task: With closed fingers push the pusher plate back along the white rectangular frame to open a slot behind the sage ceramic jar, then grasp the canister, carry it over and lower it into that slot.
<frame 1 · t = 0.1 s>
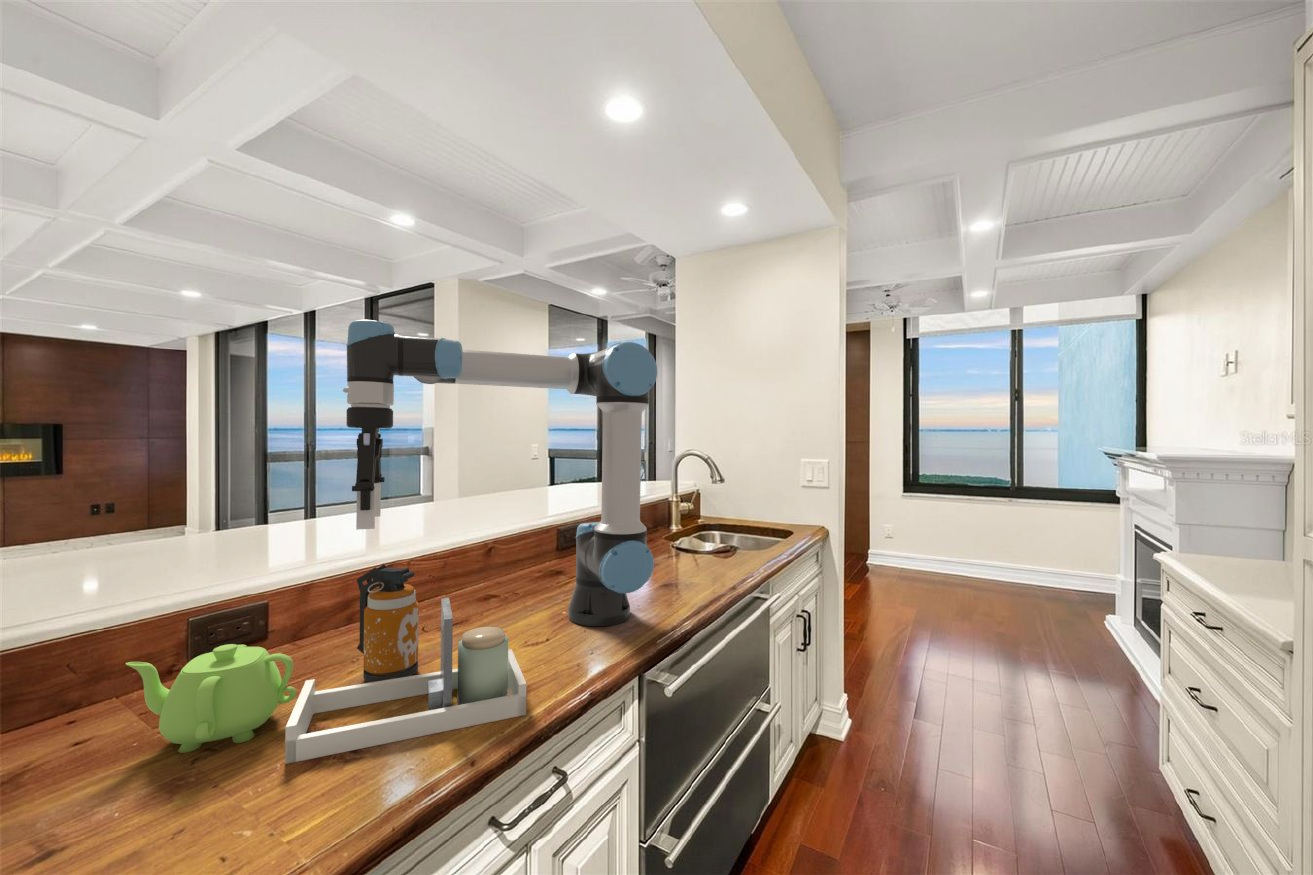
hand: (369, 522, 97), 28 cm above the countertop, fingers open, 13 cm apart
canister: (386, 675, 97), on the countertop
white rectangular frame: (415, 713, 84), on the countertop
jar: (482, 700, 88), resting in white rectangular frame
pusher: (439, 657, 86), point 8 cm above the countertop, slide at 0.0 cm
teapot: (215, 734, 78), on the countertop
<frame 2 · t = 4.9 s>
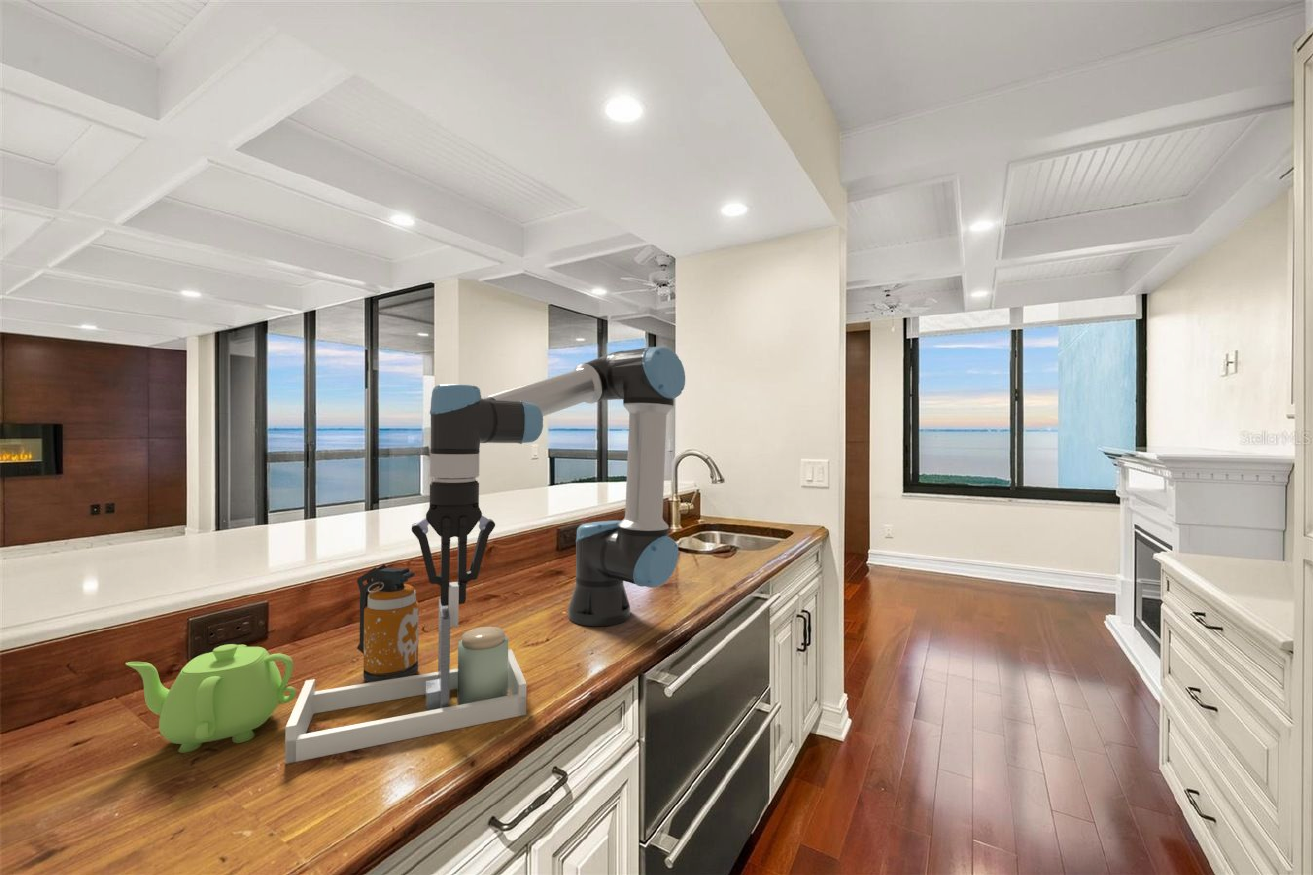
hand: (452, 624, 86), 14 cm above the countertop, fingers closed
pusher: (437, 658, 85), point 8 cm above the countertop, slide at 0.4 cm, touching gripper
everything else where it was.
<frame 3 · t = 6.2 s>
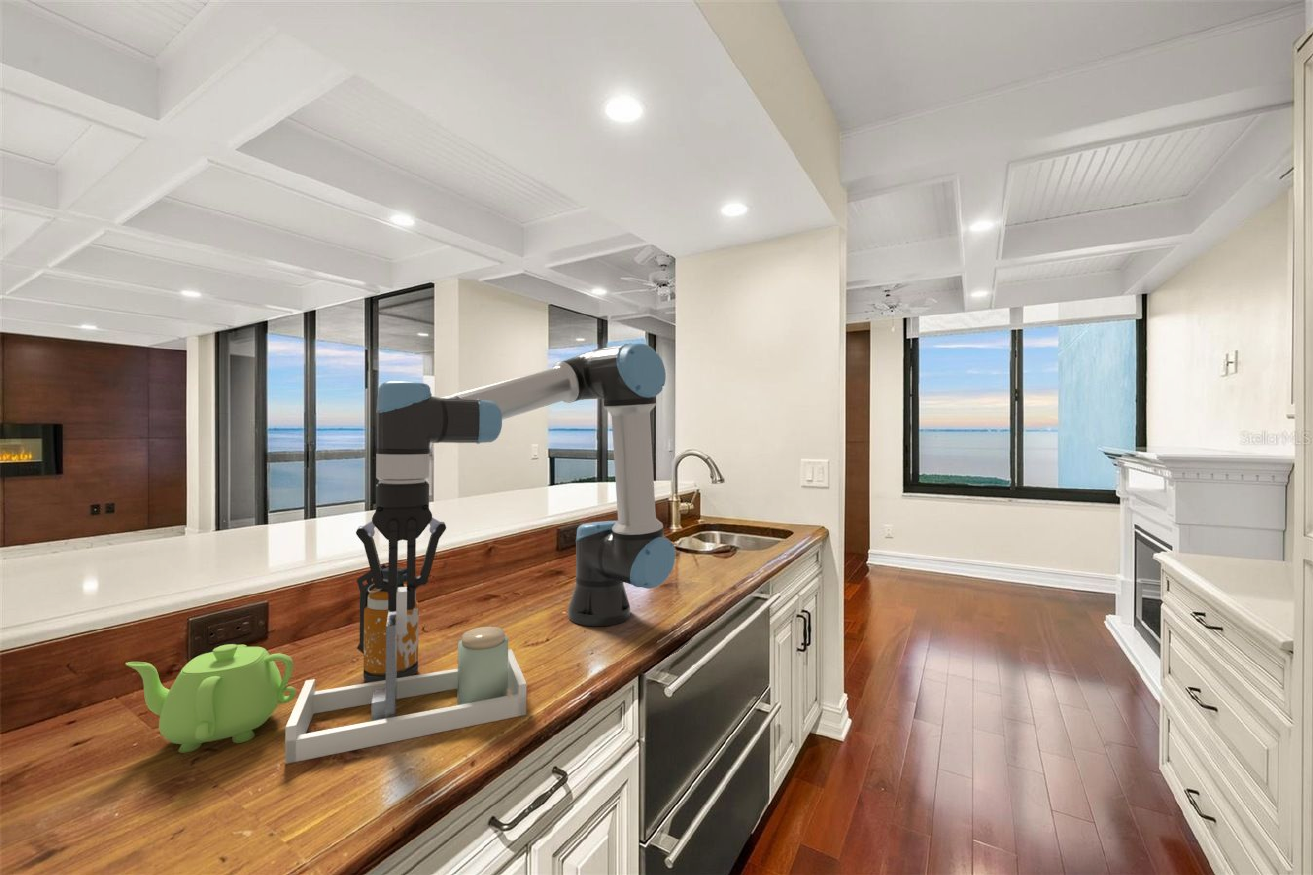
hand: (401, 630, 83), 14 cm above the countertop, fingers closed
pusher: (384, 666, 82), point 8 cm above the countertop, slide at 7.9 cm, touching gripper
everything else where it was.
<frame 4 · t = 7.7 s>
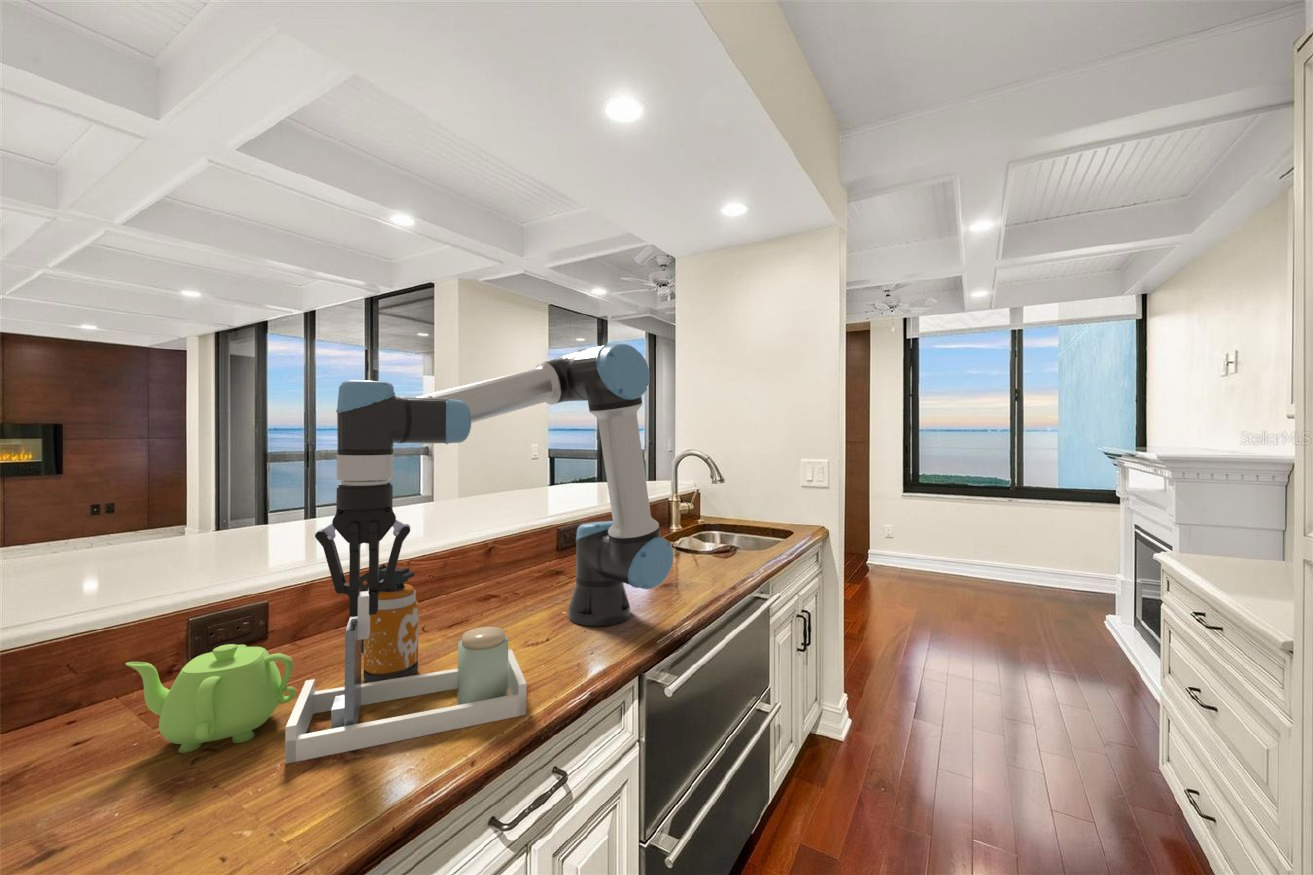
hand: (363, 636, 81), 13 cm above the countertop, fingers closed
pusher: (346, 672, 80), point 8 cm above the countertop, slide at 13.1 cm, touching gripper
everything else where it was.
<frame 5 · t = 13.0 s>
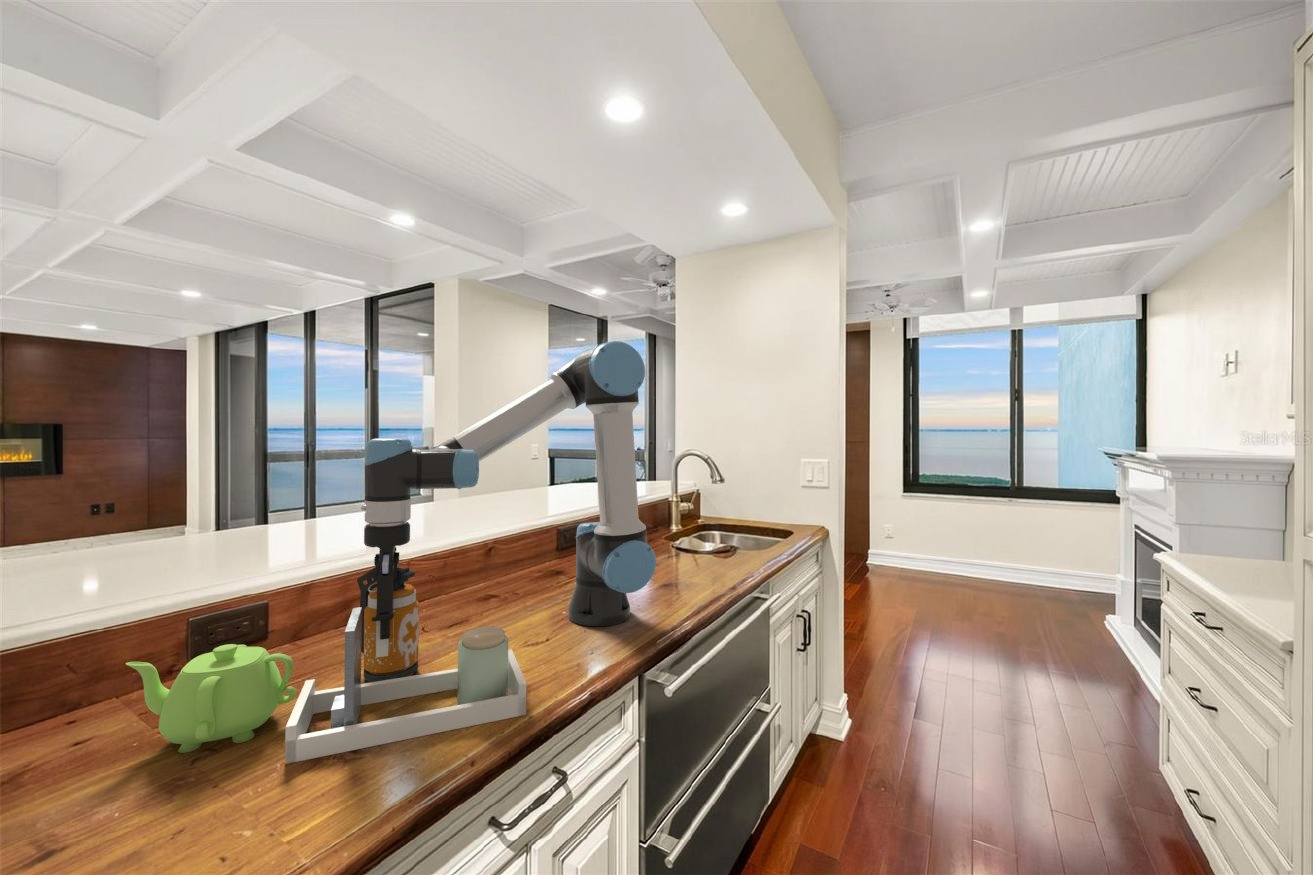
hand: (386, 646, 97), 5 cm above the countertop, fingers closed on canister, 8 cm apart
canister: (386, 675, 97), on the countertop, touching gripper
pusher: (345, 672, 80), point 8 cm above the countertop, slide at 13.2 cm
everything else where it was.
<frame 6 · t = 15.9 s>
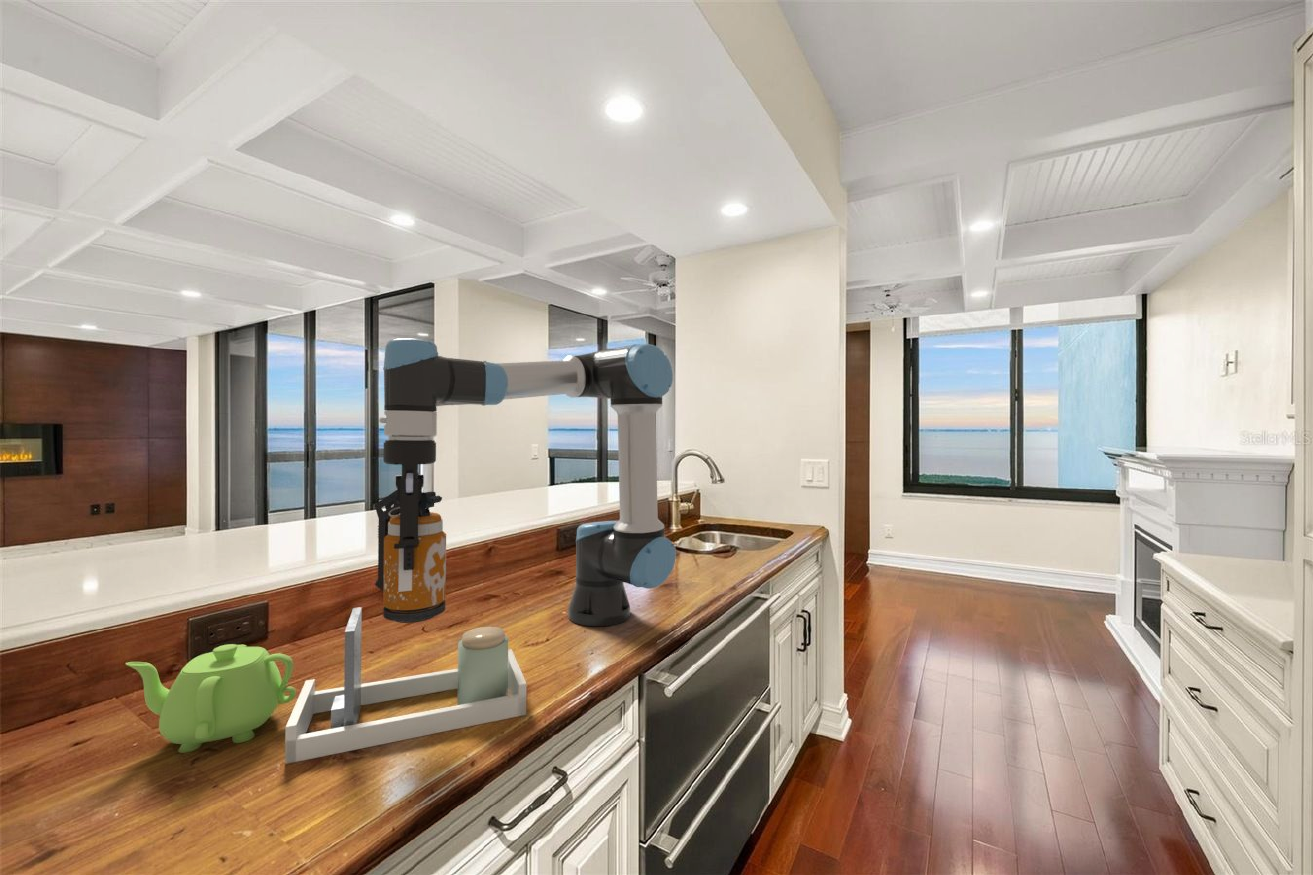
hand: (408, 582, 84), 21 cm above the countertop, fingers closed on canister, 8 cm apart
canister: (409, 616, 84), point 16 cm above the countertop, touching gripper
everything else where it was.
when the fingers open (7 cm above the countertop, at t = 18.9 s): canister drops 1 cm, resting in white rectangular frame.
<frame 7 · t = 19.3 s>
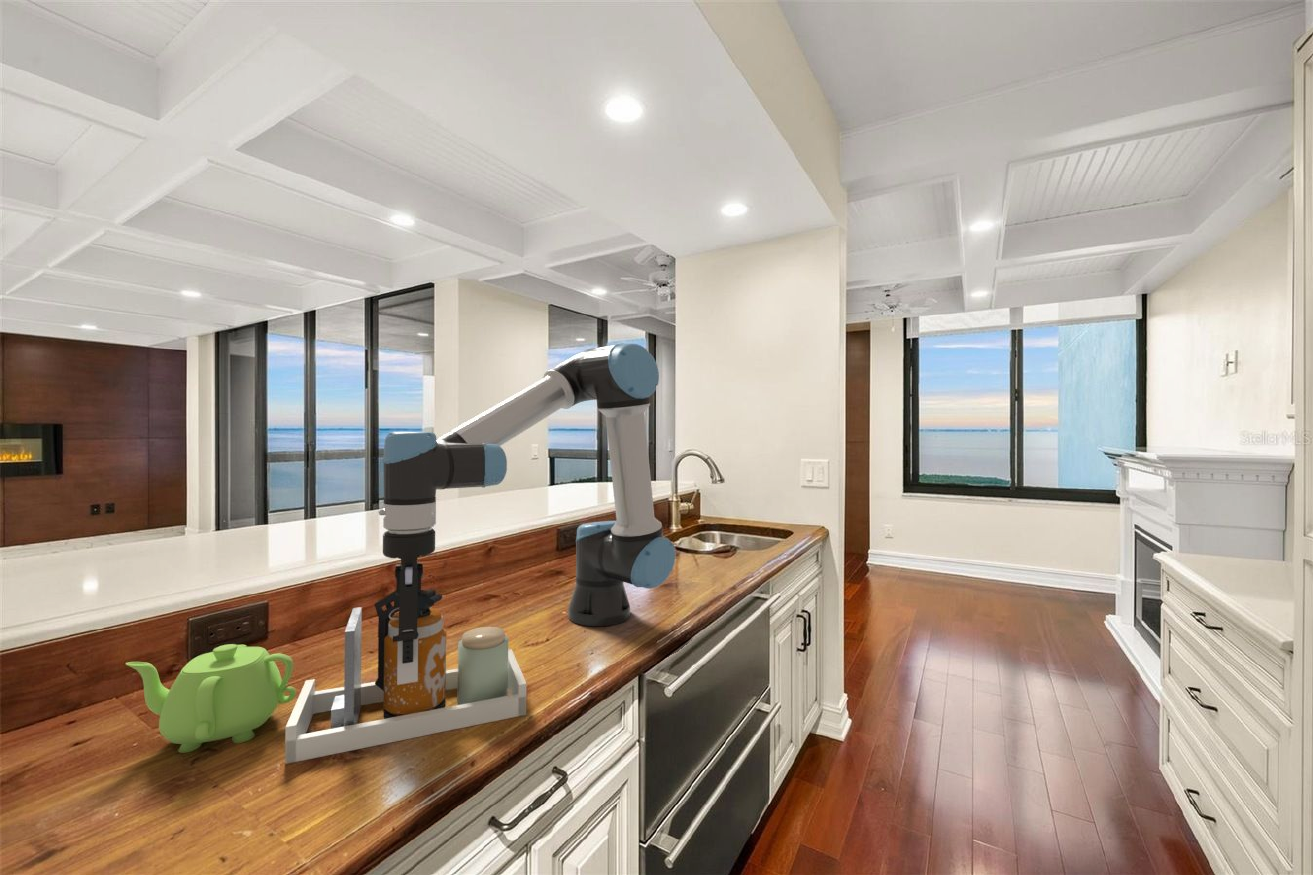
hand: (408, 664, 84), 8 cm above the countertop, fingers open, 13 cm apart
canister: (409, 715, 84), resting in white rectangular frame
everything else where it was.
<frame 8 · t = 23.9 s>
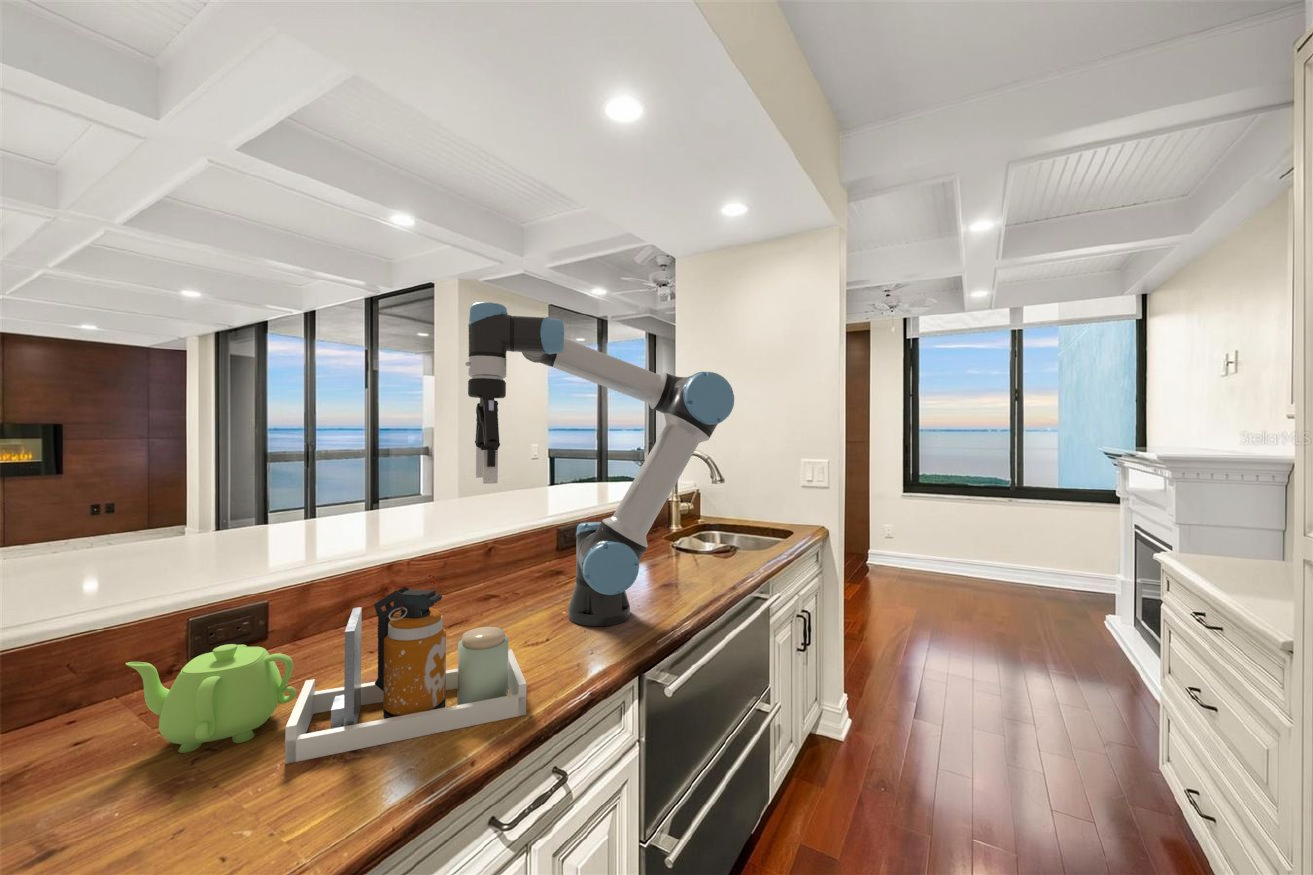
hand: (486, 480, 111), 35 cm above the countertop, fingers open, 13 cm apart
nothing on the countertop moved.
at the end: canister inside the target area (0.5 cm from its centre), resting in white rectangular frame; canister tilted 0°; canister touching countertop; pusher slide at 13.2 cm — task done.
